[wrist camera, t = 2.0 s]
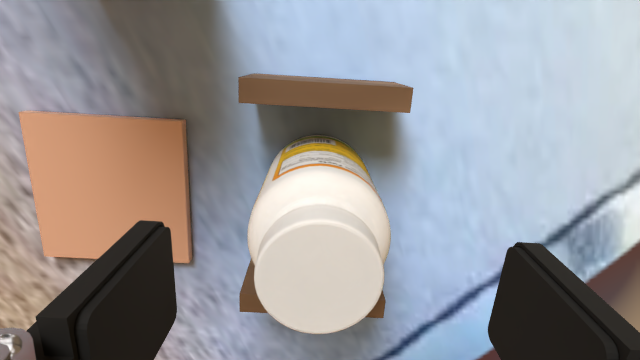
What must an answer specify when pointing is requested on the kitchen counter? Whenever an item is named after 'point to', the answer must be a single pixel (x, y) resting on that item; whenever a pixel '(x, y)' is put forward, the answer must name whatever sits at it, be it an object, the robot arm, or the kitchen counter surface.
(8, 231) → the kitchen counter surface
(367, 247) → the supplement bottle
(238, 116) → the kitchen counter surface
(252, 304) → the slot rack
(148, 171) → the terracotta tile
